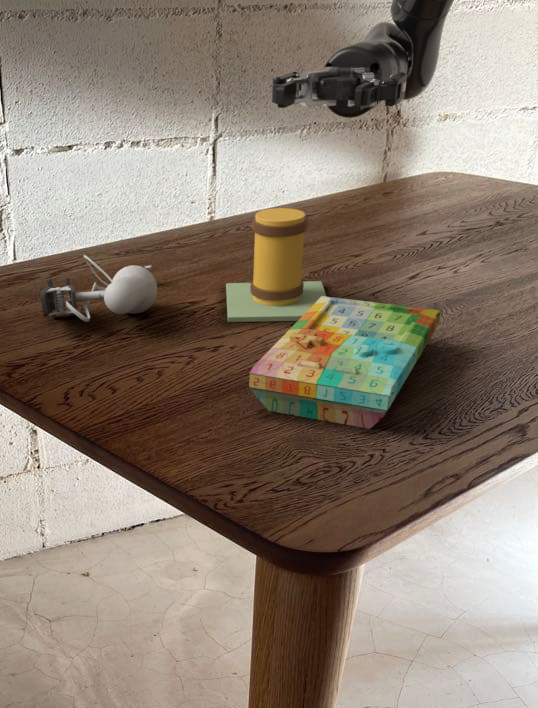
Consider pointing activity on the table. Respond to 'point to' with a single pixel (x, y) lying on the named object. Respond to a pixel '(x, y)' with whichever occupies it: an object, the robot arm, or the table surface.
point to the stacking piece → (278, 256)
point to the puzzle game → (343, 360)
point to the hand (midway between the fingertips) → (318, 98)
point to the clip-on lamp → (105, 293)
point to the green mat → (250, 311)
